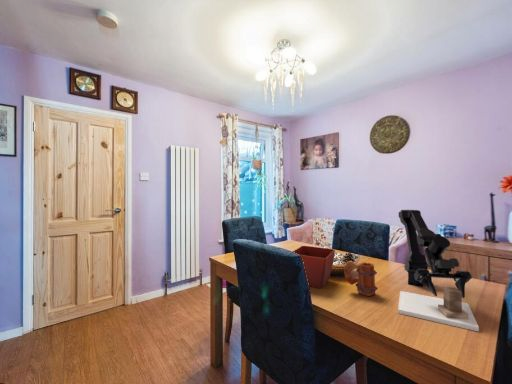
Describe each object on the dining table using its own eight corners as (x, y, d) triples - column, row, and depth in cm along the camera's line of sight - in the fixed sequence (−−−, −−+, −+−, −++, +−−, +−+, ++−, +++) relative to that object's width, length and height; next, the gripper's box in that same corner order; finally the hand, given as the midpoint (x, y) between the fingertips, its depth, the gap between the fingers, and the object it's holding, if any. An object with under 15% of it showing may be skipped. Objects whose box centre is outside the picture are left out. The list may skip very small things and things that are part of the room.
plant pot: (326, 292, 116) (325, 258, 116) (289, 285, 126) (289, 253, 126) (336, 279, 132) (335, 249, 132) (302, 273, 142) (302, 245, 142)
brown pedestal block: (446, 317, 90) (446, 292, 89) (438, 309, 95) (437, 285, 95) (468, 319, 88) (468, 293, 88) (458, 311, 94) (458, 286, 94)
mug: (376, 291, 116) (375, 260, 116) (378, 298, 109) (378, 265, 109) (344, 287, 121) (343, 258, 121) (344, 294, 114) (343, 263, 113)
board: (398, 313, 96) (398, 309, 96) (400, 294, 113) (400, 290, 113) (478, 331, 83) (478, 327, 83) (467, 306, 100) (467, 303, 100)
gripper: (416, 249, 100) (429, 286, 90) (469, 251, 96) (489, 290, 86) (409, 262, 108) (420, 297, 98) (457, 264, 104) (474, 301, 93)
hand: (449, 296), depth 93 cm, fingers open, 9 cm apart
